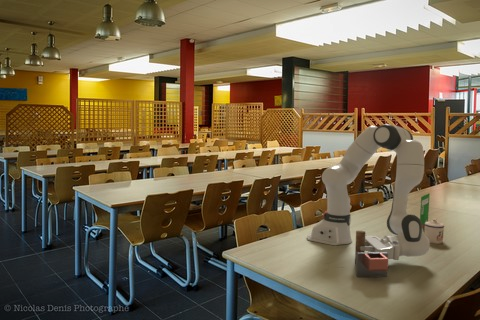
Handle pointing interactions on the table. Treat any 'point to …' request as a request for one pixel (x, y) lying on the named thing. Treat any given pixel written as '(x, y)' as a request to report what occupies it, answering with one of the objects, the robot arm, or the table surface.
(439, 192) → the table surface
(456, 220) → the table surface
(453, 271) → the table surface
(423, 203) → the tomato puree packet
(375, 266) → the drawer
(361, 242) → the brown cylinder
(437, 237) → the teacup with lid
